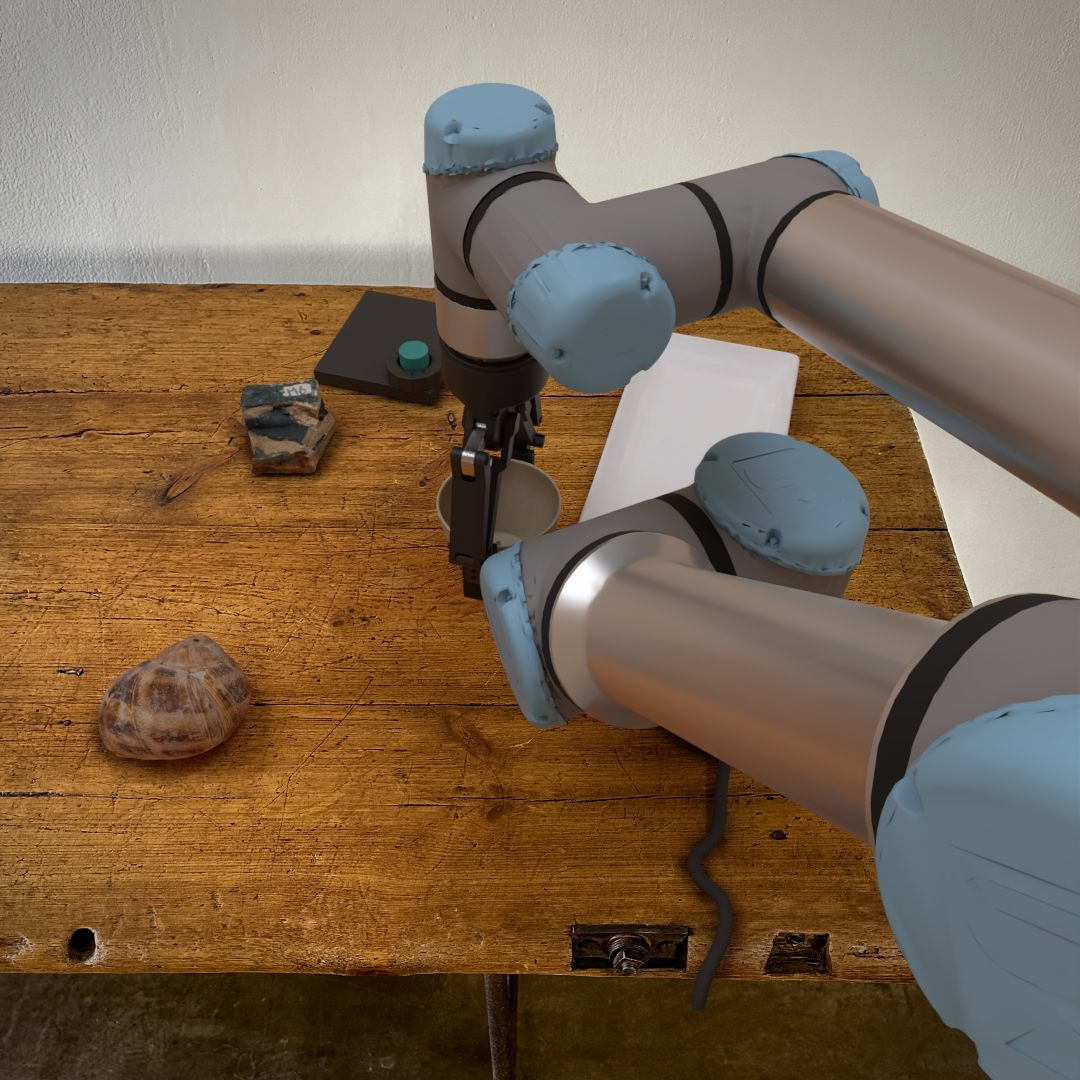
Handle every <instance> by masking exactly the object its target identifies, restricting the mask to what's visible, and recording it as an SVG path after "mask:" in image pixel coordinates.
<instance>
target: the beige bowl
mask: <svg viewBox="0 0 1080 1080" xmlns="http://www.w3.org/2000/svg"><path fill="white" fill-rule="evenodd" d="M451 495H452V473H451V474H450V475H448V477H447V478H445V480H444V481H443V482H442V484H441V486H440V487H439V489H438V491H437V494H436V501H435V505H436V512H437V517H438V520H439V523H440V526H441V528H442V531H443V534H444V535H445V537H446V539H447V541H448V543H449V542H450V519H451ZM562 506H563V498H562V494H561V491H560V488H559V486H558V484H557V483H556V482H555V480H554V479H553V478H552V477H551V476H550V475H549V474H548V473H547V472H546V471H545V470H543V469H541V468H540V467H539V466H536V465H535V464H534V465H532V464H530V463H527V462H524V461H521V460H516V459H511V462H510V465H509V466H508V467H507V468H506V469H505V470H504V471H502V479H501V486H500V494H499V501H498V508H497V516H496V523H495V531H494V538H493V543H496V544H497V553H498V552H501V551H503V550H505V549H507V548H510V547H512V546H513V545H514V544H515V543H516V542H518V541H521V540H522V541H523V542H525V541H528V540H531V539H534V538H537V537H539V536H542V535H545V534H548V533H551V532H554V531H556V529H557V526H558V523H559V520H560V516H561V513H562Z"/></svg>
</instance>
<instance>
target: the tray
mask: <svg viewBox="0 0 1080 1080" xmlns="http://www.w3.org/2000/svg"><path fill="white" fill-rule="evenodd" d="M800 363H801V362H800V357H799V356H798V355H797V354H794V353H792V352H787V351H782V350H776V349H770V348H764V347H759V346H752V345H747V344H741V343H736V342H729V341H725V340H718V339H714V338H713V339H712V338H706V337H701V336H695V335H689V334H684V333H683V334H682V333H678V332H673V333H672V336H671V338H670V341H669V343H668V345H667V347H666V348H665V350H664V352H663V353H662V355H661V356H660V358H659V359H658V360H657V361H656V362H655V364H654V365H653V366H652V367H651V368H649V369H648V370H647V371H643V370H641V371H640V372H638V373H637V374H636V375H634V376H633V377H632V378H631V381H630V383H629V384H628V385H626V386H624V387H623V392H622V393H621V396H620V400H619V403H618V406H617V409H616V411H615V414H614V417H613V421H612V423H611V426H610V428H609V432H608V435H607V439H606V441H605V444H604V447H603V450H602V453H601V456H600V459H599V461H598V465H597V468H596V470H595V474H594V476H593V479H592V483H591V484H590V488H589V491H588V494H587V497H586V498H585V502H584V503H583V504H584V505H583V507H582V509H581V513H580V516H579V518H578V521H577V524H578V523H580V522H583V521H586V520H589V519H592V518H595V517H598V516H601V515H604V514H607V513H610V512H613V511H616V510H619V509H622V508H624V507H627V506H630V505H633V504H636V503H639V502H642V501H645V500H648V499H653V498H656V497H658V496H661V495H664V494H667V493H670V492H673V491H676V490H679V489H682V488H685V487H687V486H690V485H691V484H693V483H694V476H695V470H696V468H697V466H698V465H699V464H700V462H701V460H702V459H703V457H704V455H705V454H706V452H707V451H708V450H709V449H710V448H711V447H712V446H713V445H714V444H716V443H717V442H719V441H720V440H722V439H724V438H727V437H729V436H732V435H736V434H741V433H748V432H769V433H777V434H782V435H787V436H789V431H790V425H791V424H790V423H791V418H792V412H793V405H794V399H795V392H796V387H797V383H798V382H797V380H798V377H799V372H800V371H799V370H800Z"/></svg>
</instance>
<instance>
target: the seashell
mask: <svg viewBox="0 0 1080 1080" xmlns="http://www.w3.org/2000/svg"><path fill="white" fill-rule="evenodd" d="M251 692H252V691H251V687H250V683H249V681H248V678H247V676H246V673H245V672H244V671H243V669H242V668H241V666H240V665H239V663H238V662H237V661H236V660H235V659H233V657H231V656H230V655H229V654H228V653H227V652H226V651H225V650H224V648H223V647H222V646H221V645H220V644H219V643H217V642H216V641H215V640H213V639H212V638H211V637H210V636H208V635H206V634H204V633H195V634H193V635H191V636H187V637H185V638H184V639H182V640H180V641H177V642H175V643H172V644H170V645H169V646H167V647H165V648H164V649H162V650H161V652H160V653H159V654H158V656H157V657H156V658H152V659H147V660H144V661H142V662H140V663H138V664H135V665H134V666H131V667H129V668H127V669H126V670H124V671H123V672H122V673H121V674H120V675H118V676H117V677H116V678H115V679H113V680H112V681H111V683H110V684H109V686H108V687H107V689H106V691H105V693H103V696H102V697H101V702H100V704H99V708H98V714H97V724H98V729H99V736H100V739H101V741H102V743H103V745H104V746H105V748H106V750H107V751H110V752H112V753H113V754H114V755H115V756H116V757H119V758H131V759H137V760H141V761H145V760H146V761H149V760H151V761H158V760H172V761H173V760H179V759H186V758H189V757H194V756H198V755H200V754H203V753H205V752H208V751H210V750H212V749H213V748H215V747H217V746H218V745H220V744H222V743H224V742H226V741H227V740H229V738H230V736H231V735H232V734H233V733H234V731H235V730H237V729H238V726H239V725H240V723H242V721H243V719H244V718H245V716H246V714H247V711H248V709H249V706H250V702H251V698H252V697H251V696H252V693H251Z"/></svg>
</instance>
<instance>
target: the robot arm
mask: <svg viewBox="0 0 1080 1080" xmlns="http://www.w3.org/2000/svg"><path fill="white" fill-rule="evenodd" d="M556 130H557V129H556V119H555V114H554V110H553V108H552V106H551V104H550V103H549V102H548V101H547V100H546V99H545V98H544V97H543V96H541V95H540V94H539V93H537V92H536V91H534V90H531V89H529V88H526V87H524V86H520V85H517V84H512V83H505V82H504V83H503V82H481V83H473V84H469V85H463V86H459V87H455V88H453V89H451V90H448V91H447V92H444V93H443V94H441V95H440V96H438V97H437V98H436V99H435V100H434V101H433V102H432V103H431V104H430V106H429V107H428V109H427V111H426V114H425V116H424V121H423V144H424V145H423V151H424V153H423V157H424V159H423V160H424V162H423V163H422V173H423V174H424V175H425V185H426V195H427V196H426V197H427V206H428V218H429V229H430V230H429V231H430V241H431V242H430V243H431V251H432V253H431V254H432V263H433V264H432V265H433V274H434V275H433V287H434V300H435V301H434V302H436V317H437V328H438V331H439V335H440V337H439V345H440V358H441V370H442V378H443V381H444V383H443V384H444V386H445V387H446V389H447V390H448V391H449V393H451V394H452V396H454V397H455V398H456V399H457V400H458V401H460V402H461V403H462V404H463V405H464V406H463V408H462V409H463V410H462V417H461V426H462V428H463V438H462V446H458V445H454V446H453V447H452V448H451V450H450V453H449V460H450V470H451V474H452V495H451V519H450V542H449V541H448V543H447V544H446V548H447V550H448V555H447V556H448V563H449V564H452V565H456V566H460V567H461V573H462V574H461V575H462V589H463V597H464V598H467V599H472V600H476V601H481V602H483V606H484V609H485V612H486V617H487V620H488V624H489V628H490V631H491V634H492V638H493V640H494V644H495V646H496V649H497V652H498V655H499V658H500V661H501V664H502V667H503V670H504V672H505V675H506V678H507V681H508V683H509V685H510V688H511V690H512V693H513V696H514V698H515V700H516V702H517V705H518V707H519V709H520V711H521V712H522V714H523V716H524V718H525V719H526V721H527V722H528V723H529V724H530V725H531V726H533V727H534V728H536V729H542V730H543V729H548V728H550V727H553V726H557V725H559V726H567V725H568V724H569V722H570V721H571V719H572V718H574V717H577V716H580V715H583V714H586V715H588V716H589V717H591V718H593V719H594V720H597V721H598V722H601V723H603V724H606V725H609V726H613V727H617V728H621V729H630V730H646V729H652V728H656V727H662V728H663V729H666V730H667V731H668V732H670V733H672V734H674V735H675V736H677V737H678V738H679V739H682V740H683V741H685V742H687V743H688V744H690V745H693V746H695V747H697V748H699V749H700V750H702V751H704V752H706V753H707V754H709V755H711V756H713V757H714V758H717V765H716V766H717V767H716V774H715V782H714V794H713V795H714V797H713V799H714V800H713V816H712V822H711V825H710V827H709V831H708V833H707V834H706V836H705V837H703V839H701V840H699V842H698V843H696V844H695V845H694V846H693V847H692V848H691V850H690V851H689V854H688V857H687V872H688V875H689V877H690V879H691V880H692V882H693V883H694V884H695V885H696V886H697V887H698V889H700V890H701V892H703V893H704V894H705V895H706V896H708V898H710V899H711V900H712V901H713V903H714V904H715V906H716V907H717V908H716V909H717V912H718V928H717V932H716V934H715V937H714V939H713V941H712V944H711V946H710V947H709V950H708V952H707V954H706V955H705V957H704V960H703V961H702V964H701V965H700V967H699V971H698V973H697V976H696V979H695V982H694V985H693V989H692V992H691V995H690V1005H691V1007H692V1009H693V1010H695V1011H697V1012H700V1011H702V1010H704V1008H705V1006H706V1003H707V999H708V996H709V992H710V989H711V985H712V982H713V980H714V978H715V975H716V973H717V971H718V969H719V966H720V965H721V963H722V960H723V958H724V957H725V955H726V952H727V950H728V948H729V945H730V942H731V939H732V935H733V929H734V911H733V907H732V903H731V900H730V898H729V896H728V895H727V893H726V892H725V891H724V890H723V888H721V886H719V885H718V884H717V883H716V882H714V881H713V880H712V879H711V878H710V877H709V876H708V875H707V873H705V871H704V870H703V868H702V861H703V859H704V858H705V857H706V856H707V855H709V854H710V853H711V852H712V851H713V850H714V849H715V848H716V847H717V846H718V845H719V844H720V842H721V840H722V838H723V836H724V833H725V829H726V825H727V819H728V818H727V817H728V795H729V782H730V773H731V768H734V769H735V770H737V771H739V772H740V773H742V774H744V775H746V776H748V777H749V778H751V779H752V780H755V781H756V782H758V783H760V784H762V785H764V786H765V787H767V788H769V789H770V790H772V791H774V792H776V793H777V794H779V795H781V796H783V797H784V798H787V799H788V800H790V801H792V802H793V803H795V804H797V805H799V806H800V807H802V808H803V809H806V810H807V811H809V812H810V813H812V814H814V815H816V816H817V817H820V818H821V819H823V820H825V821H827V822H828V823H829V824H832V825H834V826H835V827H837V828H839V829H840V830H843V831H844V832H846V833H848V834H849V835H851V836H853V837H854V838H856V839H858V840H860V841H862V842H863V843H865V844H866V845H868V846H869V848H870V851H871V854H872V858H873V862H874V866H875V870H876V878H877V884H878V889H879V894H880V898H881V901H882V905H883V909H884V912H885V915H886V918H887V921H888V924H889V927H890V929H891V932H892V934H893V937H894V939H895V941H896V944H897V946H898V948H899V950H900V952H901V955H902V956H903V958H904V960H905V962H906V965H907V966H908V968H909V970H910V972H911V974H912V975H913V977H914V979H915V981H916V983H917V985H918V987H919V988H920V990H921V991H922V993H923V995H924V996H925V998H926V999H927V1001H928V1003H929V1004H930V1006H931V1007H932V1008H933V1009H934V1011H936V1013H937V1014H938V1016H939V1017H940V1019H941V1021H942V1022H943V1023H944V1025H945V1026H947V1027H948V1028H950V1029H957V1030H959V1031H961V1032H963V1033H964V1034H965V1035H966V1036H967V1037H968V1038H969V1039H970V1040H971V1041H972V1043H974V1045H975V1049H976V1052H977V1053H976V1054H977V1056H978V1058H977V1064H978V1066H979V1067H980V1069H981V1070H982V1071H983V1072H984V1073H985V1074H986V1075H987V1076H988V1077H989V1078H990V1079H991V1080H1080V598H1078V597H1077V598H1076V597H1070V596H1064V595H1057V594H1053V593H1039V592H1022V593H1011V594H1009V593H1008V594H1006V595H1001V596H998V597H994V598H990V599H988V600H985V601H982V602H981V603H979V604H976V605H974V606H972V607H970V608H968V609H967V610H965V611H963V612H962V613H960V614H959V615H957V616H955V617H954V618H952V619H951V620H950V621H949V620H944V619H940V618H934V617H930V616H925V615H920V614H916V613H911V612H907V611H902V610H896V609H892V608H887V607H883V606H879V605H875V604H874V605H873V604H869V603H864V602H860V601H856V600H855V601H854V600H850V599H845V598H843V596H844V593H845V592H846V589H847V587H848V585H849V583H850V580H851V577H852V575H853V573H854V570H855V568H856V567H858V565H859V564H860V562H861V561H862V557H863V554H864V552H865V551H864V546H865V545H864V544H865V541H866V537H867V535H868V531H869V528H870V521H871V510H870V505H869V501H868V498H867V495H866V493H865V490H864V489H863V487H862V485H861V483H860V482H859V481H858V480H857V477H856V476H855V475H854V474H853V473H852V472H851V471H850V470H849V468H847V467H846V465H844V464H843V463H842V462H841V461H840V460H839V459H838V458H836V457H834V456H833V455H832V454H830V453H828V452H827V451H826V450H823V449H822V448H820V447H818V446H816V445H814V444H812V443H809V442H806V441H802V440H799V439H796V438H794V437H793V436H790V435H788V436H787V435H782V434H777V433H769V432H748V433H741V434H736V435H732V436H729V437H727V438H724V439H722V440H720V441H719V442H717V443H716V444H714V445H713V446H712V447H711V448H710V449H709V450H708V451H707V452H706V454H705V455H704V457H703V459H702V460H701V462H700V464H699V465H698V466H697V468H696V470H695V476H694V483H693V484H691V485H690V486H687V487H685V488H682V489H679V490H676V491H673V492H670V493H667V494H664V495H661V496H658V497H656V498H653V499H648V500H645V501H642V502H639V503H636V504H633V505H630V506H627V507H624V508H622V509H619V510H616V511H613V512H610V513H607V514H604V515H601V516H598V517H595V518H592V519H589V520H586V521H583V522H580V523H578V522H577V523H575V524H572V525H569V526H565V527H563V528H560V529H558V530H555V531H554V532H551V533H548V534H545V535H542V536H539V537H537V538H534V539H531V540H528V541H525V542H523V541H522V540H521V541H518V542H516V543H515V544H514V545H513V546H512V547H510V548H507V549H505V550H503V551H501V552H498V553H497V545H498V544H497V543H493V538H494V531H495V523H496V516H497V508H498V501H499V494H500V486H501V479H502V471H504V470H505V469H506V468H507V467H508V466H509V465H510V462H511V459H516V460H521V461H524V462H527V463H530V464H532V465H534V466H535V451H536V450H534V449H531V447H533V448H538V449H543V448H544V445H545V441H546V434H545V433H540V432H537V431H536V429H535V427H538V428H539V427H540V426H541V424H542V423H543V412H542V410H543V409H542V402H541V392H542V391H543V389H544V388H545V387H546V385H547V383H548V381H549V378H550V377H551V378H552V380H554V381H555V382H556V383H558V384H559V385H561V386H562V387H564V388H565V389H568V390H569V391H573V392H576V393H581V394H585V395H586V394H587V395H597V394H598V395H599V394H606V393H611V392H613V391H616V390H619V389H622V388H625V386H626V385H628V384H629V383H630V381H631V378H632V377H633V376H634V375H636V374H637V373H638V372H640V371H641V370H643V371H647V370H648V369H649V368H651V367H652V366H653V365H654V364H655V362H656V361H657V360H658V359H659V358H660V356H661V355H662V353H663V352H664V350H665V348H666V347H667V345H668V343H669V341H670V338H671V336H672V333H674V330H675V329H676V328H679V327H683V326H686V325H690V324H693V323H696V322H697V323H698V322H700V321H702V320H705V319H710V318H714V317H717V316H720V315H723V314H727V313H730V312H734V311H738V310H741V309H754V310H756V311H757V312H759V313H760V314H762V315H763V316H765V317H766V318H768V319H770V320H771V321H773V322H775V323H777V324H778V325H780V326H782V327H784V328H785V329H786V330H788V331H790V332H792V333H793V334H795V335H796V336H797V337H799V338H801V339H802V340H804V341H805V342H807V343H808V344H810V345H812V346H813V347H814V348H816V349H818V350H819V351H821V352H822V353H824V354H825V355H827V356H828V357H830V358H832V359H833V360H834V361H836V362H838V363H840V364H841V365H842V366H844V367H845V368H847V369H848V370H851V371H852V372H853V373H855V374H856V375H858V376H859V377H861V378H863V379H864V380H865V381H867V382H869V383H870V384H872V385H873V386H875V387H876V388H878V389H880V390H881V391H883V393H886V394H887V395H889V396H890V397H892V398H894V399H895V400H897V401H898V402H900V403H901V404H903V405H904V406H906V407H908V408H909V409H911V410H912V411H913V412H916V413H917V414H918V415H920V416H921V417H923V418H925V419H926V420H927V421H929V422H931V423H932V424H934V425H935V426H936V427H938V428H940V429H941V430H943V431H944V432H946V433H948V434H949V435H951V436H952V437H954V438H955V439H957V440H958V441H960V442H962V443H963V444H965V445H966V446H968V447H969V448H971V449H972V450H974V451H975V452H977V453H979V455H982V456H983V457H984V458H986V459H987V460H990V461H991V462H992V463H994V464H996V465H997V466H999V467H1000V468H1001V469H1003V470H1005V471H1006V472H1007V473H1009V474H1011V475H1012V476H1013V477H1016V478H1017V479H1019V480H1020V481H1022V482H1023V483H1024V484H1027V485H1028V486H1029V487H1031V488H1033V489H1034V490H1035V491H1036V492H1037V491H1038V492H1039V493H1040V494H1042V495H1044V496H1045V497H1047V498H1048V499H1050V500H1051V501H1053V502H1054V503H1056V504H1058V505H1059V506H1061V507H1062V508H1064V509H1065V510H1067V511H1068V512H1070V513H1071V514H1073V515H1075V516H1076V517H1077V518H1079V519H1080V294H1078V293H1076V292H1074V291H1072V290H1070V289H1068V288H1065V287H1063V286H1060V285H1058V284H1056V283H1054V282H1052V281H1050V280H1047V279H1045V278H1042V277H1040V276H1038V275H1035V274H1033V273H1031V272H1030V271H1027V270H1024V269H1022V268H1020V267H1017V266H1015V265H1013V264H1011V263H1008V262H1006V261H1004V260H1001V259H999V258H997V257H995V256H992V255H990V254H988V253H986V252H983V251H982V250H980V249H979V250H978V249H976V248H974V247H972V246H970V245H967V244H965V243H962V242H960V241H958V240H956V239H954V238H952V237H949V236H947V235H945V234H943V233H940V232H937V231H935V230H934V229H932V228H931V229H930V228H929V227H927V226H924V225H922V224H920V223H917V222H916V221H912V220H911V219H908V218H906V217H904V216H901V215H899V214H898V213H894V212H893V211H890V210H888V209H885V208H883V207H881V205H880V200H879V196H878V192H877V189H876V186H875V184H874V182H873V180H872V179H871V177H870V176H867V175H866V174H865V173H864V172H863V171H862V169H861V164H860V162H859V161H858V160H857V159H855V158H854V157H852V156H851V155H850V154H847V153H846V152H845V153H844V152H842V151H838V150H833V149H823V150H822V149H821V150H817V151H816V150H814V151H808V152H802V153H799V152H789V153H784V154H782V155H776V156H772V157H771V158H768V159H766V160H764V161H760V162H755V163H751V164H748V165H744V166H741V167H736V168H733V169H728V170H724V171H720V172H717V173H713V174H709V175H704V176H700V177H697V178H694V179H693V178H692V179H690V180H685V181H680V182H676V183H673V184H669V185H664V186H659V187H656V188H652V189H648V190H644V191H643V190H642V191H639V192H635V193H632V194H626V195H622V196H618V197H614V198H610V199H605V200H602V201H598V202H589V201H588V200H586V199H585V198H584V197H583V196H582V195H581V194H580V193H579V191H577V190H576V189H575V188H574V187H573V186H572V184H570V183H569V181H568V180H566V179H565V177H564V176H563V175H561V173H560V172H558V169H557V165H556V157H557V153H558V151H559V143H558V142H557V141H558V140H557V132H556ZM488 451H490V452H496V453H498V452H500V456H497V455H492V454H490V452H488Z"/></svg>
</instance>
